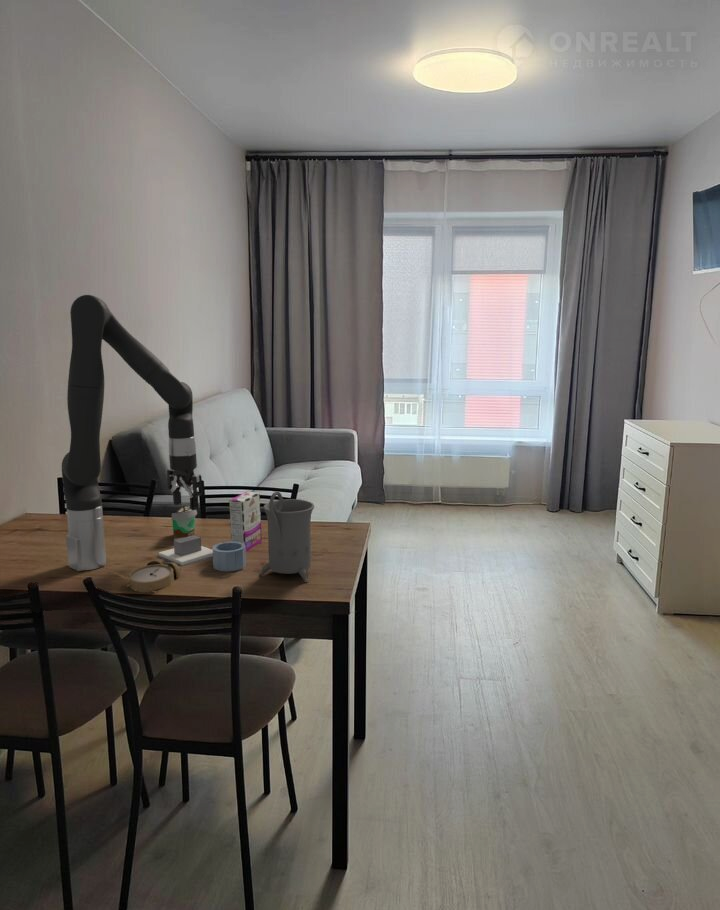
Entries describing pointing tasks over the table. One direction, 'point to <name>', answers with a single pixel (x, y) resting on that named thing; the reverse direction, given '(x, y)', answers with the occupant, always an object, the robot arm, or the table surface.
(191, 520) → the food container
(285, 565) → the grey footed pot
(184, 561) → the lid
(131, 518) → the table surface
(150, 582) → the alarm clock
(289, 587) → the table surface
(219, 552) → the bowl
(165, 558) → the mat
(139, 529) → the table surface
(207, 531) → the table surface
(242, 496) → the candy bar box
